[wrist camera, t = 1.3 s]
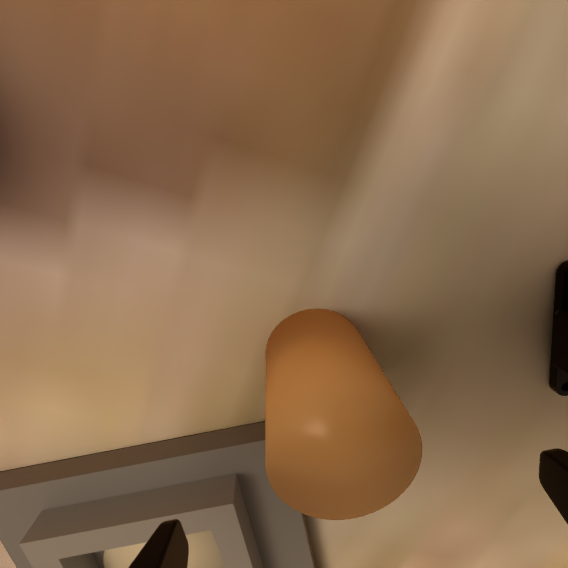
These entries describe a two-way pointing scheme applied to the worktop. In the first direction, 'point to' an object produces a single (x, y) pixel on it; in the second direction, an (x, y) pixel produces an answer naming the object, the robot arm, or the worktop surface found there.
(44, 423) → the worktop surface
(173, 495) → the plate
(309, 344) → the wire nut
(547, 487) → the robot arm
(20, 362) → the worktop surface
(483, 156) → the worktop surface
